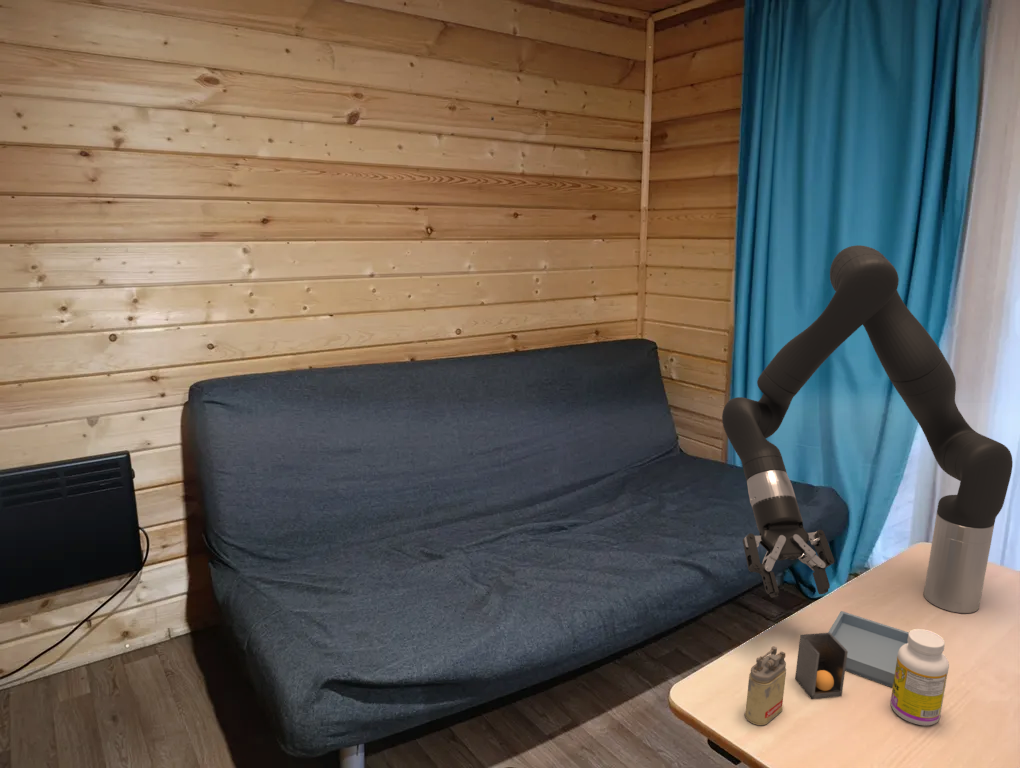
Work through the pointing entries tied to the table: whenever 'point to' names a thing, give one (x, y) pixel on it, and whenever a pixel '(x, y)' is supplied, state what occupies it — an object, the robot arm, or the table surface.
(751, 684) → the lighter
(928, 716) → the supplement bottle
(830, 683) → the ball
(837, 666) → the open box
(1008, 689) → the table surface
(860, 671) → the tray
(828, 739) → the table surface
